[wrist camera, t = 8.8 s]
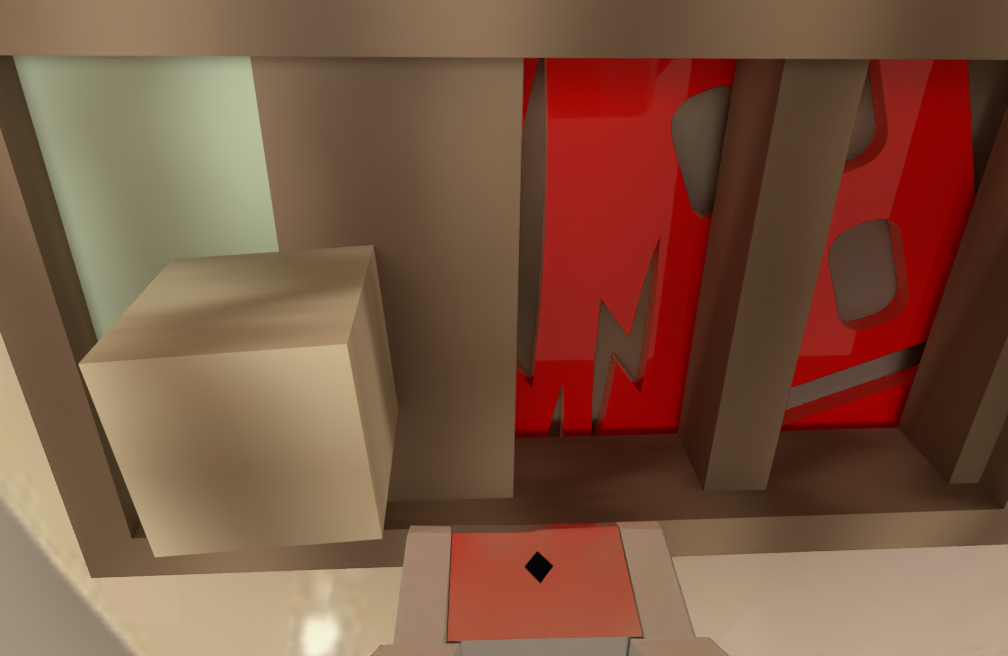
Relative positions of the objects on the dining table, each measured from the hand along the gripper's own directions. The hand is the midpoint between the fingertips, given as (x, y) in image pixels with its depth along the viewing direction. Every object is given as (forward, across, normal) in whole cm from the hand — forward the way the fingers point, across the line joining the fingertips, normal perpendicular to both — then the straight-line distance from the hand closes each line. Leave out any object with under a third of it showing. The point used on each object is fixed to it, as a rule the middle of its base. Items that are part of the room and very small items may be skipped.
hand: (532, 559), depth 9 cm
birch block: (+10, +6, +3) cm, 12 cm away
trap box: (+14, -2, +2) cm, 14 cm away
